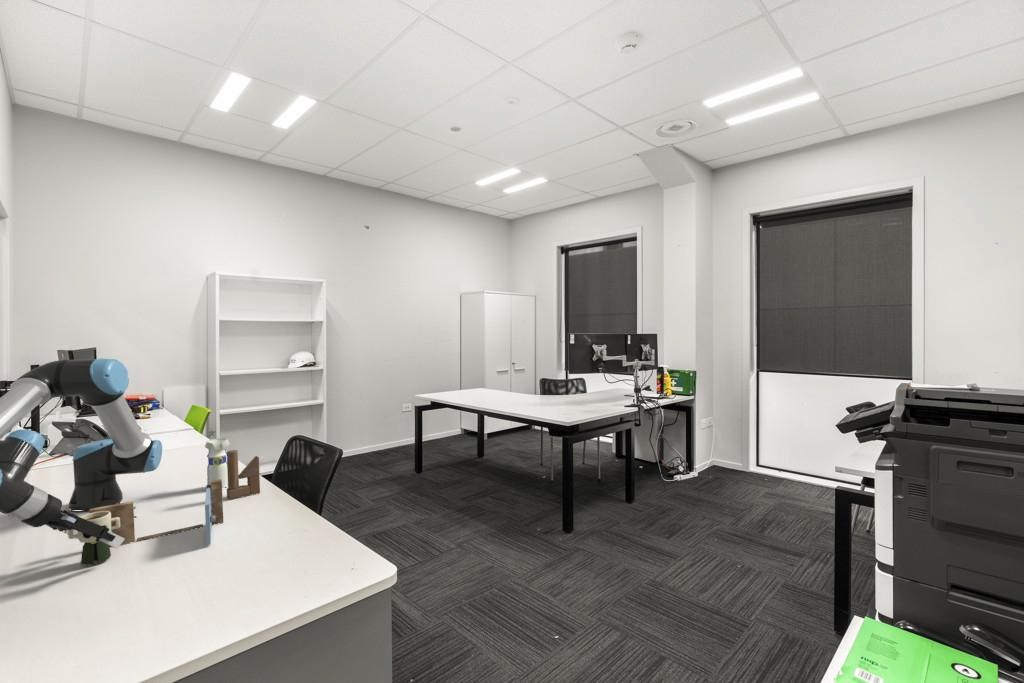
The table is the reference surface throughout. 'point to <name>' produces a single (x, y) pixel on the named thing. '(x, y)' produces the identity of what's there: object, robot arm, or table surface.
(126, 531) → the door frame
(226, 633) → the table surface
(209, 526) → the door
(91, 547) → the character mug
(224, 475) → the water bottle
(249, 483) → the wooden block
